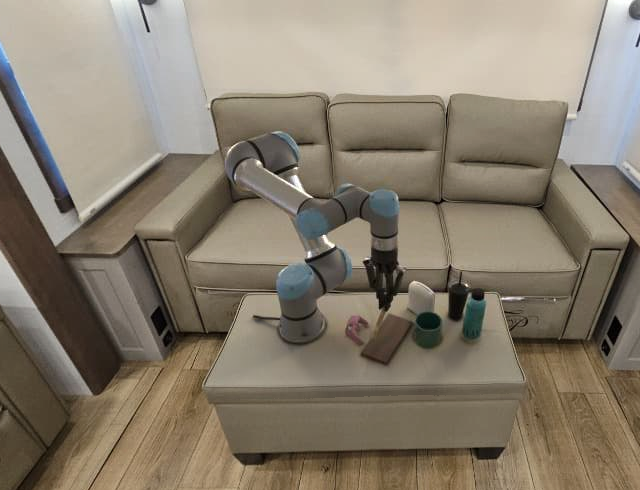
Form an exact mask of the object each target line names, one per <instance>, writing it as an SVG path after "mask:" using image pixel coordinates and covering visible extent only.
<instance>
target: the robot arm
mask: <svg viewBox="0 0 640 490" xmlns="http://www.w3.org/2000/svg"><path fill="white" fill-rule="evenodd" d="M300 153H301V152H300V149H299V147H298V144H297V142H296V141H295V140H294V139H293V137H291V136H290V135H289V134H287V133H285V132H284V131H279V130H278V131H277V130H276V131H273V132H267V133H265V134H262V135H258V136H256V137H253V138H249V139H245V140H242V141H239V142H237V143H235V144H234V145H232V146H231V147H230V148H229V150H228V151H227V153H226V155H225V158H224V170H225V173H226V176H227V177H228V179H229V180H230V181H231V182H232V184H234V185H235V186H236V187H238V188H239V189H241V190H243V191H250V192H252V193H254V194H255V195H256V196H258V197H260V198H261V199H263V200H264V201H266V202H268V204H270V205H272V206H274V207H275V208H277V209H278V210H280V211H281V212H283V213H284V214H286V215H287V217H288V220H289V221H290V224H291V226H292V228H293V229H294V232H295V234H296V236H297V238H298V240H299V242H300V244H301V246H302V248H303V250H304V256H303V260H304V262H305V263H303V262H302V263H299V262H298V263H296V264H295V263H292V264H289V265H287V266H285V267H284V268H283V269H282V270H280V271H279V273H278V274H277V276H276V280H275V286H276V288H275V290H276V294H277V298H278V303H279V307H280V312H281V314H280V317H275V316H260V315H257V314H253V315H252V318H253V319H258V320H267V321H269V320H270V321H279V322H278V331H279V335H280V336H281V338H282V339H283V340H284V341H285V342H288V343H291V344H298V345H300V344H307V343H310V342H312V341H314V340H316V339H317V338H319V337H320V336H321V335H322V334H323V332H324V330H325V328H326V320H325V317H324V315H323V314H322V312H321V310H320V308H319V307H318V301H317V300H318V299H320V298H321V297H323V296H324V295H326V294H328V293H330V292H332V290H334V289H335V288H337V287H338V286H341V285H343V284H344V283H345V282H346V281H348V280H349V279H350V278H351V276H352V272H353V263H352V259H351V257H350V255H349V254H348V252H347V251H346V250H345V249H344V248H342V247H339V246H337V244H336V243H335V242H333V241H330V240H329V238H328V236H327V234H329V233H331V232H332V231H335V230H336V229H338V228H340V227H341V226H343V225H346V224H347V223H350V222H351V221H353V220H355V219H357V218H358V219H360V220H362V221H364V222H368V223H369V228H370V229H369V232H370V256H366V258H364V259H363V261H362V264H363V267H365V272H366V276H367V281H368V285H369V288H370V289H372V290H373V289H374V291H375V298H376V299H377V300H378V310H380V311H381V310H382V308H383V305H384V303H385V312H386V313H387V312H389V310H390V308H391V307H392V302H393V301H394V297H396V296H397V295H398V294H399V293H400V291H401V286H402V282H403V279H404V275H405V274H406V273H407V271H408V269H407V267H402V266H401V265H400V263H399V261H398V260H399V259H398V257H399V218H400V217H399V215H400V203H399V196H398V194H397V193H396V192H395V191H393V190H391V189H385V188H379V189H376V190H374V191H372V192H371V191H369V190H367V189H365V188H362V187H360V186H358V185H354V184H352V183H343V184H342V185H339V188H338V189H337V190H336V191H335V194H334V196H333V197H331V198H329V199H327V200H325V201H321V200H319V199H318V198H315V197H313V196H312V195H310V194H308V193H307V192H306V190H305V188H304V185H303V184H302V181H301V179H300V177H299V176H298V173H299V170H300V166H299V165H298V164H299V163H300V159H301V154H300ZM395 270H396V277H395V279H394V273H395ZM384 278H385V287H386V288H385V287H384V284H383V283H384ZM394 280H395V281H394Z"/></svg>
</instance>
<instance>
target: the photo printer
mask: <svg viewBox="0 0 640 490" xmlns="http://www.w3.org/2000/svg"><path fill="white" fill-rule="evenodd" d="M407 294H408V296H407V297H408V300H407V309H409V310H410V311H412V312H413V313H414V314H416V316H417V315H418V314H419V313H421V312H425V311H429V312H434V313H435V302H436V293H435V292H434V290H432V289H430V288H429V287H428V286H427V285H426V284H424V283H422V282H419V281H416V280H413V281H412V282H410V284H409V286H408V293H407Z"/></svg>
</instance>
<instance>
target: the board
mask: <svg viewBox="0 0 640 490" xmlns="http://www.w3.org/2000/svg"><path fill="white" fill-rule="evenodd" d="M412 325H413V321H412V320H409V319H406V318H404V317H400V316H397V315H395V314H392V313H388V315H387V316H386V318H384V319H383V321H382V323H381V325H380V328H379V331H378V333H377V336H376V338H375V339H373V338H370V340H369V341H368V342H367V344H366V345H365V347H364V348H363V350H362V351H361V353H360V354H361V356H364V357H366V358H368V359H371V360H373V361H376V362H378V363H380V364H383V365H388V363H389V361H390V360H391V358H392V357H393V355H394V354H395V352H396V350H397V349H398V347H399V346H400V344H401V342H402V341H403V339H404V338H405V336H406V335H407V333H408V331H409V330H410V328H411V327H412Z"/></svg>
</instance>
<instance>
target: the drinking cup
mask: <svg viewBox="0 0 640 490" xmlns="http://www.w3.org/2000/svg"><path fill="white" fill-rule="evenodd" d="M462 276H463V271H462V270H460V271H459V277H458V279H456V278H455V279H452V280H451V281H449V282H448V283H447V289H448V303H447V305H448V313H447V314H448V316H447V317H448V318H449V319H450V320H452V321H460V320H461V319H462V318H463V315H464V312H465V309H466V304H467V299H468V298H469V294H470V291H471V288H472V287H471V285H470V284H469V282H467V281H466V280H464V279H462Z"/></svg>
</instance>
